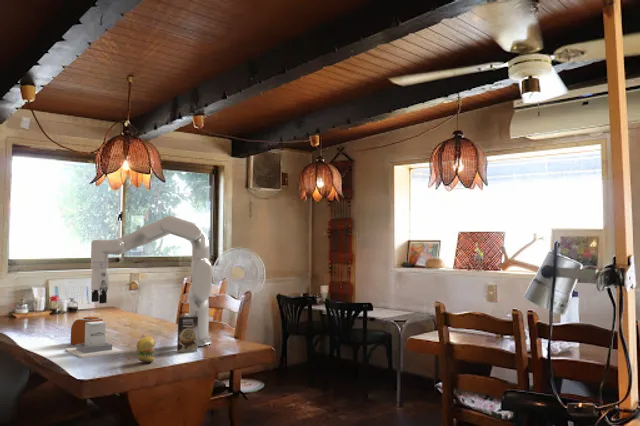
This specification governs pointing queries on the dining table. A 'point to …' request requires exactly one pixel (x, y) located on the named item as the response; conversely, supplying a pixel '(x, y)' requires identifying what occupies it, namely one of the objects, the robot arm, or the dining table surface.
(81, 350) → the dock board
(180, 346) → the coffee box
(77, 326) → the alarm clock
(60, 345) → the dining table surface
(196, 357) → the dining table surface
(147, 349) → the hamburger
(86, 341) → the supplement box
